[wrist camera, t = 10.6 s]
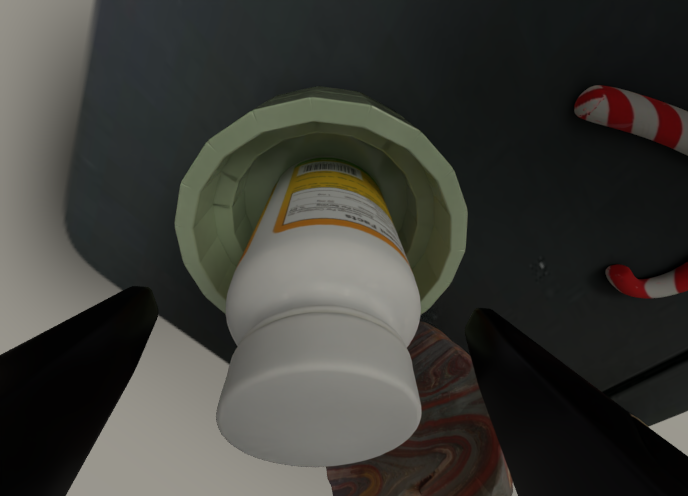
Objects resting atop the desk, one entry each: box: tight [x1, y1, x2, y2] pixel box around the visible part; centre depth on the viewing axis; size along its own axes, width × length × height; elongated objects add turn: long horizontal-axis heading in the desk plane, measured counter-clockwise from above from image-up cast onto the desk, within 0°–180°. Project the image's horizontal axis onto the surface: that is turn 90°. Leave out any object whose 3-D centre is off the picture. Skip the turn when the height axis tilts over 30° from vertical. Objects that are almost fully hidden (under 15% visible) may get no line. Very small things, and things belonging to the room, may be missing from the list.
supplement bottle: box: [216, 156, 421, 467], centre depth 9 cm, size 5×5×10 cm
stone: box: [326, 321, 513, 496], centre depth 17 cm, size 13×8×10 cm
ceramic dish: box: [174, 86, 468, 314], centre depth 12 cm, size 10×10×4 cm
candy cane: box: [574, 85, 688, 298], centre depth 14 cm, size 8×1×15 cm
